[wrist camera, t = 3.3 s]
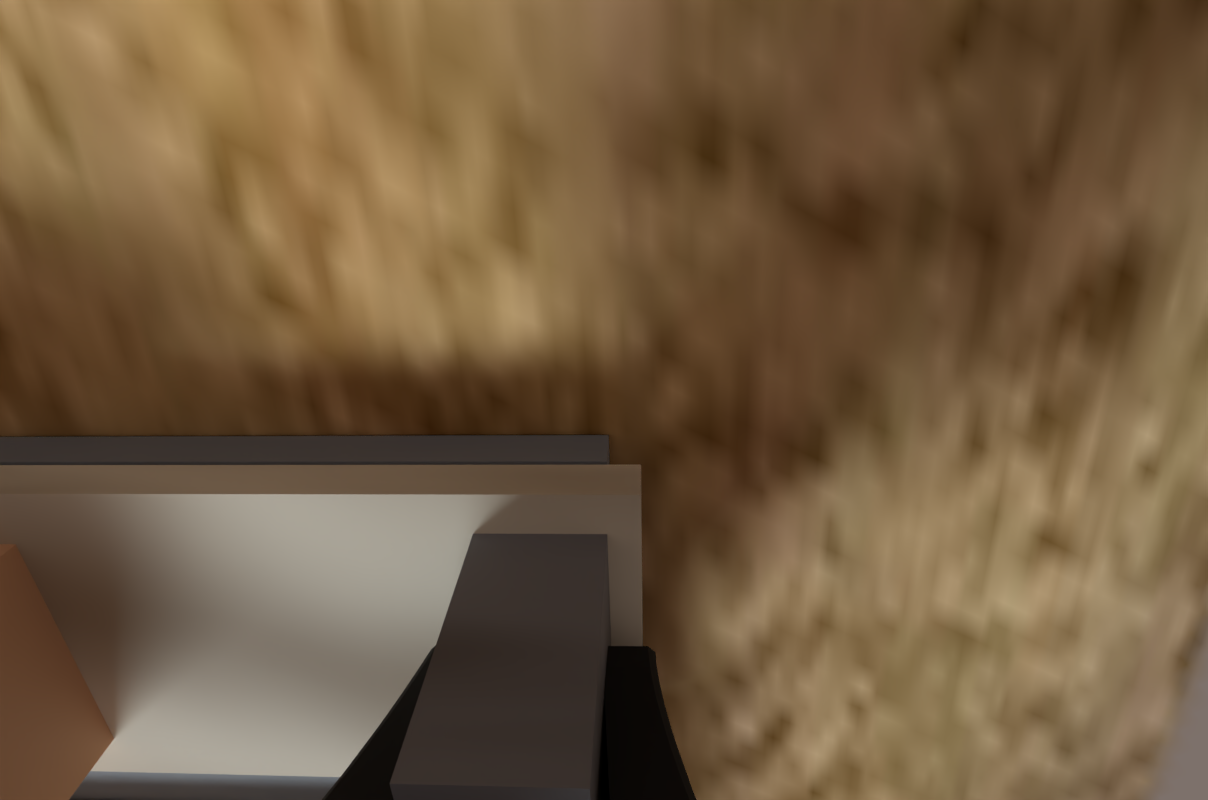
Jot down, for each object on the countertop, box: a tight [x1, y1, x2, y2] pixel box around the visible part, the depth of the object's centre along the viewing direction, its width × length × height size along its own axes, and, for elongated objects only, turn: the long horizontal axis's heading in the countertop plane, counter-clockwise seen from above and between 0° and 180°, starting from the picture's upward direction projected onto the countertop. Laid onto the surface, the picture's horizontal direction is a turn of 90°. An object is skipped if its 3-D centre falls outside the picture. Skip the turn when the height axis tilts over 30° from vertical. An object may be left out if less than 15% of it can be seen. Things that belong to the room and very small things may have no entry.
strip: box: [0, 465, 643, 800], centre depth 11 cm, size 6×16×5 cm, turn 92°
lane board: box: [0, 435, 610, 800], centre depth 15 cm, size 15×17×1 cm
